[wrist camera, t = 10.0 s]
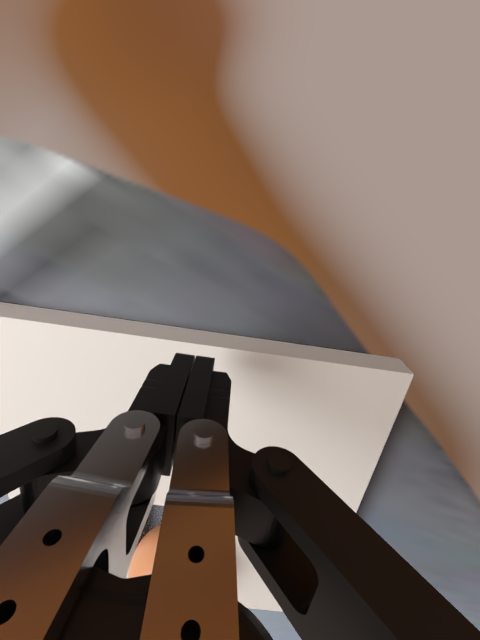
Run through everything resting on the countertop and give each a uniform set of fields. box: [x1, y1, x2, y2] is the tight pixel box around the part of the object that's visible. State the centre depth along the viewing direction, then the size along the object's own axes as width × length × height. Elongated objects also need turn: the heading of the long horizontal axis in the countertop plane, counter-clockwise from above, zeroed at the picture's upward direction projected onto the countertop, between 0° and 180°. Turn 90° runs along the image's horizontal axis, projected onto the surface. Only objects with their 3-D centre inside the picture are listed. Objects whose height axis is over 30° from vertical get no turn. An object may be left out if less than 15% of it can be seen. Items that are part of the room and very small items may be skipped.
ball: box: [128, 524, 161, 578], centre depth 19 cm, size 5×5×5 cm
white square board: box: [0, 302, 414, 612], centre depth 19 cm, size 20×20×2 cm
